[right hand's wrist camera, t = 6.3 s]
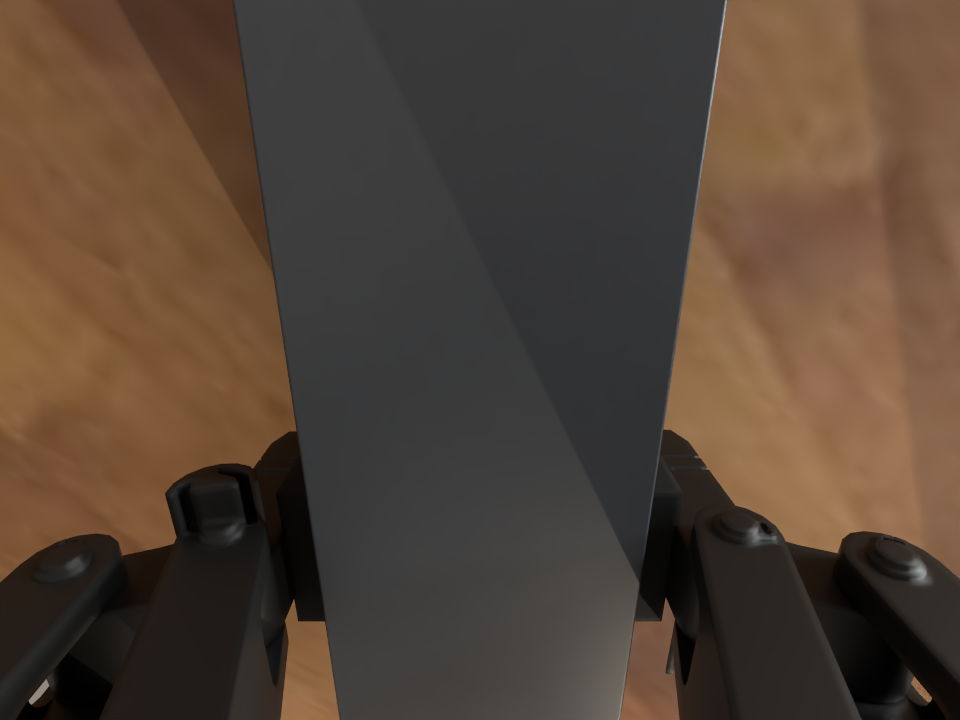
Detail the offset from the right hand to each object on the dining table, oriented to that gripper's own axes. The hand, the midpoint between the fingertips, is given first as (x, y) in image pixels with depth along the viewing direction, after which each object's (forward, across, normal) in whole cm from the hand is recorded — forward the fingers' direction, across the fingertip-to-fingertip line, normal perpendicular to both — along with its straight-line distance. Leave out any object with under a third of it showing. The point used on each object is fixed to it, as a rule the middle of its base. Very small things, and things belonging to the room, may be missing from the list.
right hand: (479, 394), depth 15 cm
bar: (+1, 0, -28) cm, 28 cm away
